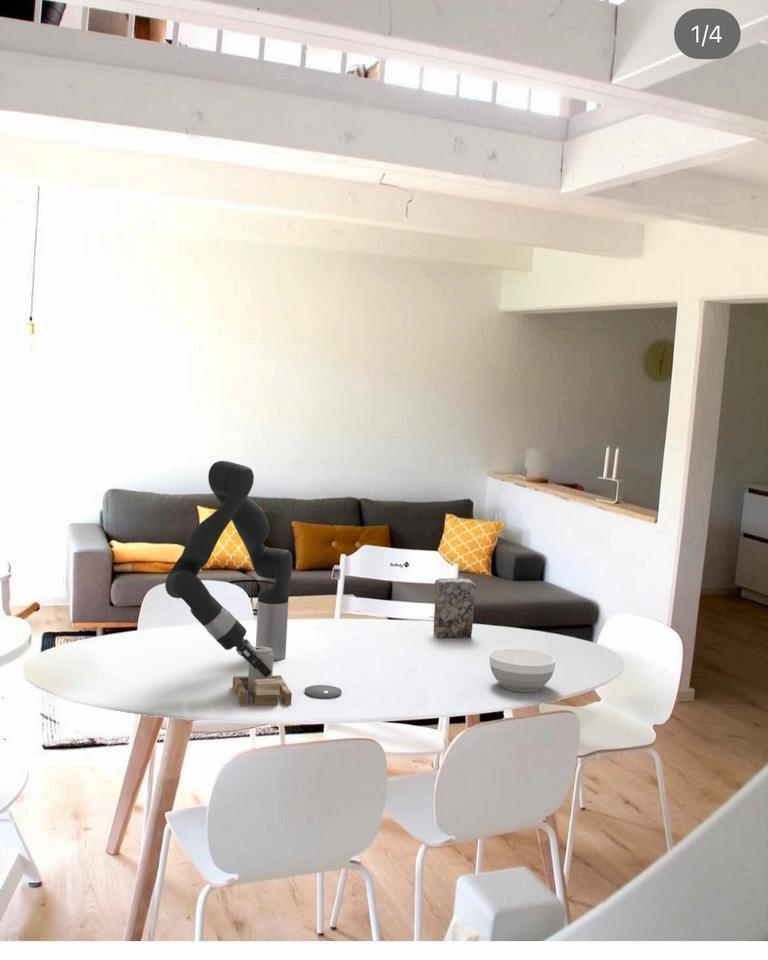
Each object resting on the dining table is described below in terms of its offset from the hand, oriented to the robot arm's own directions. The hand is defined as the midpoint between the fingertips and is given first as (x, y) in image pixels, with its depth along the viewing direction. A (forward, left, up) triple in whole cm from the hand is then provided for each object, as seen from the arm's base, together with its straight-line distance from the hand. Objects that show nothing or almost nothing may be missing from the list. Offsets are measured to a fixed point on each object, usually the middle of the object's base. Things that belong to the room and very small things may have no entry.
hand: (266, 670), depth 274 cm
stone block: (-60, +74, -6) cm, 95 cm away
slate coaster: (+2, +15, -6) cm, 17 cm away
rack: (+3, -2, -6) cm, 7 cm away
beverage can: (0, -2, -6) cm, 6 cm away
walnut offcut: (+9, -2, -6) cm, 11 cm away
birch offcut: (+9, -1, -3) cm, 10 cm away
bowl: (0, +74, -6) cm, 74 cm away
